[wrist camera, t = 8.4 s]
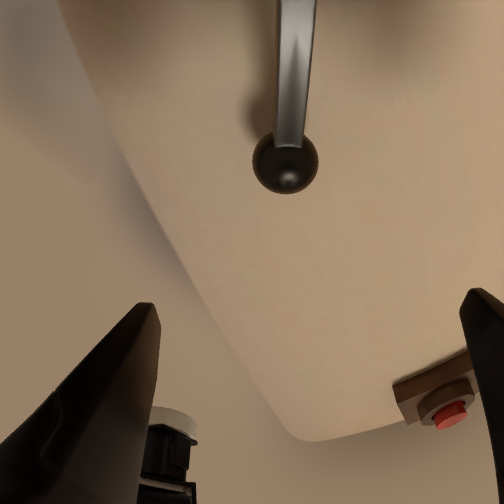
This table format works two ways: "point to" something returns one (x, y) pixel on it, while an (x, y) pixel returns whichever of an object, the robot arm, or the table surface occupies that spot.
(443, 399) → the button block
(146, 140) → the table surface
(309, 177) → the lever
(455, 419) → the button
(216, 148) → the table surface
